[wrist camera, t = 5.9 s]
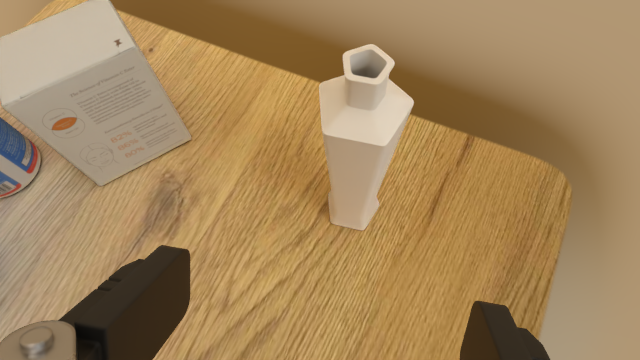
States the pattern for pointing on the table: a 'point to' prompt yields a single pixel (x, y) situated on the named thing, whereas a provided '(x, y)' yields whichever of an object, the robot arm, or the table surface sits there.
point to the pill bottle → (16, 160)
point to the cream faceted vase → (360, 132)
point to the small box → (88, 91)
